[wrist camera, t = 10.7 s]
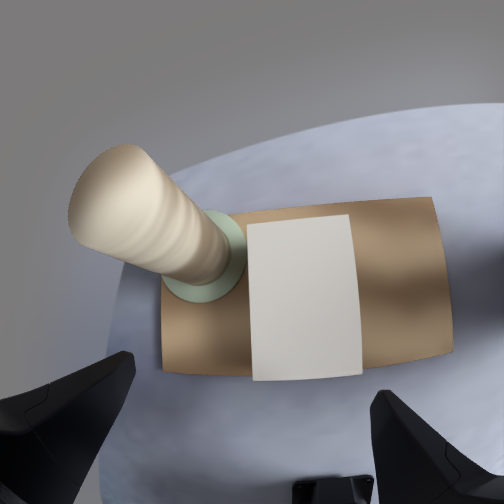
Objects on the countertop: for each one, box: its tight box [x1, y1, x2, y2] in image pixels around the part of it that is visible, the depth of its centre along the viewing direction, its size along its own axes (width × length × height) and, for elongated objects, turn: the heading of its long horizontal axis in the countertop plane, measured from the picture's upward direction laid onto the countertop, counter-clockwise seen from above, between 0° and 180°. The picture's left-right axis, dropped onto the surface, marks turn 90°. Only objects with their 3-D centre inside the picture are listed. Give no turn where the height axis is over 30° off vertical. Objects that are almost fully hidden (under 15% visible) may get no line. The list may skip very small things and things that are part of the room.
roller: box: [68, 144, 231, 286], centre depth 16 cm, size 5×5×11 cm
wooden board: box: [161, 197, 453, 376], centre depth 19 cm, size 13×22×2 cm, turn 93°
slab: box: [247, 214, 363, 381], centre depth 17 cm, size 9×6×4 cm, turn 3°
